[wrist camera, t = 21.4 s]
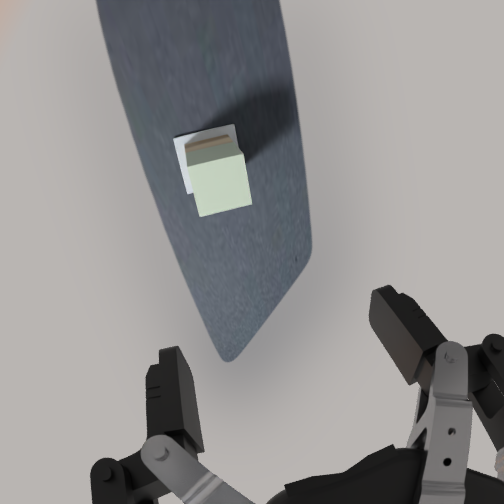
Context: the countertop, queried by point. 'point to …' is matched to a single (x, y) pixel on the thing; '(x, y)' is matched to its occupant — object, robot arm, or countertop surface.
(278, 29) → the countertop surface
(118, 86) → the countertop surface
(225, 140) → the maple block
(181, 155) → the white tile
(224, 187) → the sage block
